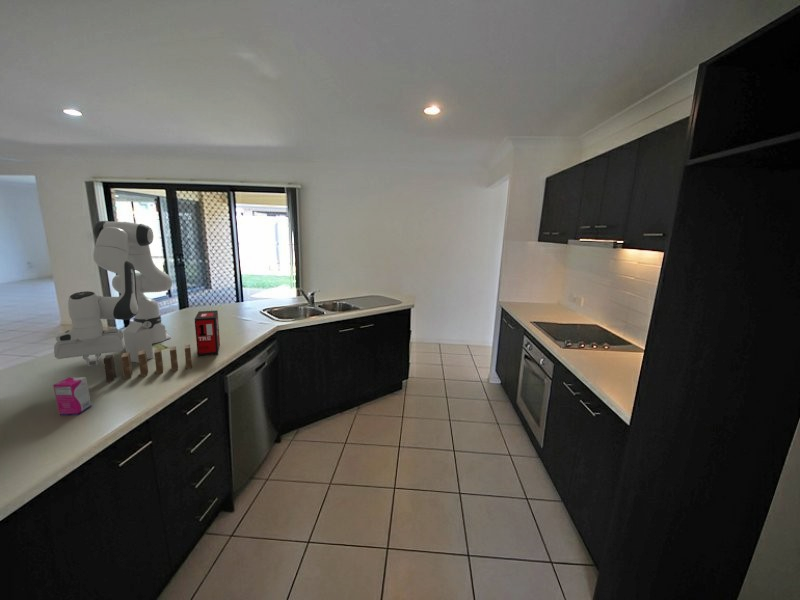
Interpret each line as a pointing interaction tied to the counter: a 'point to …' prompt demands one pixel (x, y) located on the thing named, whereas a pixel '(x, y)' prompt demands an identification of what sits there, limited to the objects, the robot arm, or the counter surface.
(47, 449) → the counter surface
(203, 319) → the cleaning product box
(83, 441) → the counter surface
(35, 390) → the counter surface
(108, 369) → the tile
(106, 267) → the robot arm
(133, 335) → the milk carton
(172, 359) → the tile
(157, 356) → the tile
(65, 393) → the supplement box
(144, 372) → the tile
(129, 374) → the tile
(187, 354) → the tile
